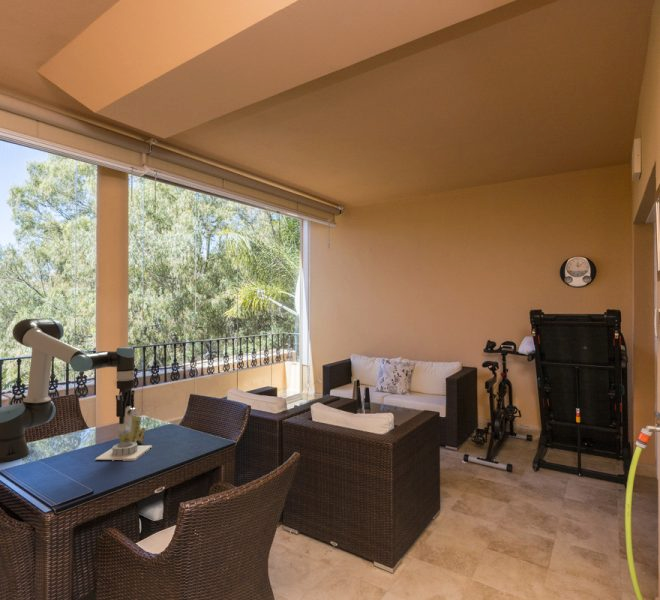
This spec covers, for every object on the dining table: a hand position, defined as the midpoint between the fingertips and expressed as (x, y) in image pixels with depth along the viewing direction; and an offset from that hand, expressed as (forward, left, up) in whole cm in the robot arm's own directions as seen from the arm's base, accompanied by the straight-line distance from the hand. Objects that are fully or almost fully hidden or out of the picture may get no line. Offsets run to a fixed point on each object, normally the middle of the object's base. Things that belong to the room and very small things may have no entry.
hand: (125, 428), depth 195 cm
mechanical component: (-3, +15, -13) cm, 20 cm away
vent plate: (0, 0, -12) cm, 12 cm away
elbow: (+1, 0, -2) cm, 2 cm away
